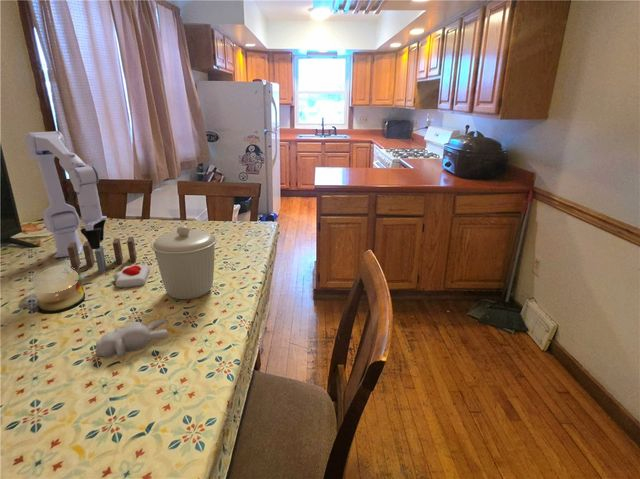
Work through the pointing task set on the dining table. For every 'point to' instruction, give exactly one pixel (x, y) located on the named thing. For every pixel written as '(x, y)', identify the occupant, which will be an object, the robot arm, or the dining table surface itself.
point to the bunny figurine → (129, 338)
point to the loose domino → (100, 260)
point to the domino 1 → (74, 255)
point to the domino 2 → (88, 254)
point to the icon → (132, 276)
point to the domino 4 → (131, 249)
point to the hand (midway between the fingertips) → (97, 244)
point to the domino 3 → (117, 251)
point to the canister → (186, 261)
